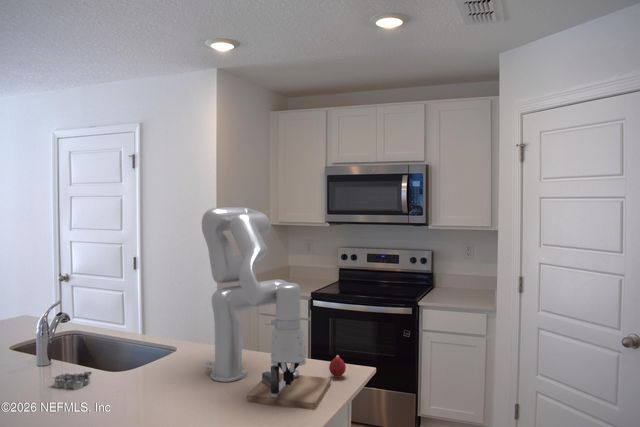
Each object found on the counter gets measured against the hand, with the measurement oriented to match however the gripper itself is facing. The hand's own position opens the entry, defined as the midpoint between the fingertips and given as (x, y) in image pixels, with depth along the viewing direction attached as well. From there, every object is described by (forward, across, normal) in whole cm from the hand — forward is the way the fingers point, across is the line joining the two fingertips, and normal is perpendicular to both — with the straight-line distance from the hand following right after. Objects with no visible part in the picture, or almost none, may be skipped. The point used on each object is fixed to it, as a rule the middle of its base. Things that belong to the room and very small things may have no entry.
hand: (288, 383), depth 143 cm
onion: (+7, +14, +22) cm, 27 cm away
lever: (+4, -3, +9) cm, 10 cm away
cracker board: (+6, -1, +9) cm, 11 cm away
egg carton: (+6, -75, +9) cm, 76 cm away
